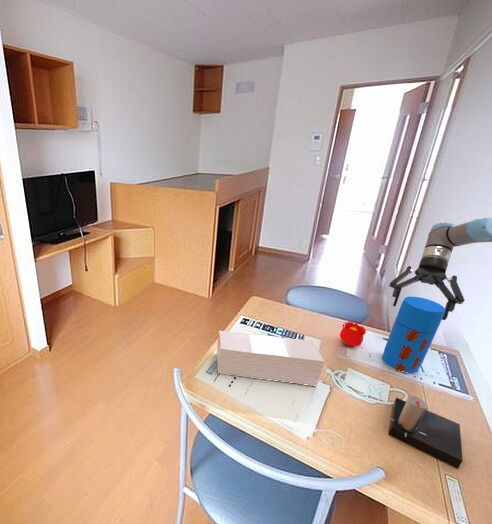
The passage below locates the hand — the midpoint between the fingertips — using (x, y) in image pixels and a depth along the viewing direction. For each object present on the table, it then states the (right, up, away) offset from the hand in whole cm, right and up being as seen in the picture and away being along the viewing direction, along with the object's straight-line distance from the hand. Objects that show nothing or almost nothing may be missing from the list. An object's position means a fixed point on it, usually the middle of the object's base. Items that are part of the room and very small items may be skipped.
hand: (418, 311), depth 108 cm
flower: (-16, -15, +14) cm, 26 cm away
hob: (-20, -30, -23) cm, 43 cm away
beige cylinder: (-26, -28, -25) cm, 45 cm away
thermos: (-4, -20, +3) cm, 20 cm away
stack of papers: (-56, -21, 0) cm, 59 cm away
